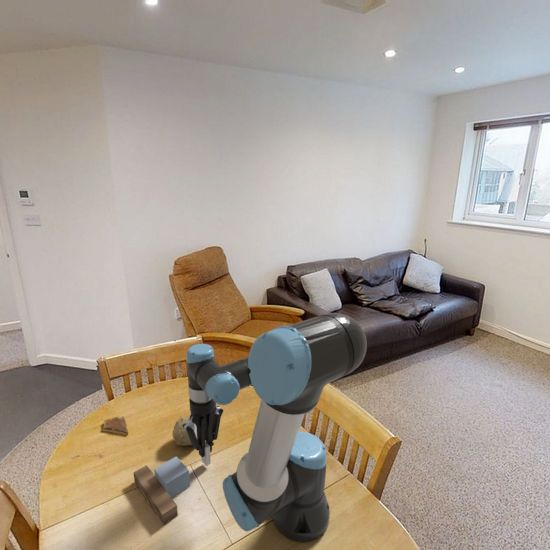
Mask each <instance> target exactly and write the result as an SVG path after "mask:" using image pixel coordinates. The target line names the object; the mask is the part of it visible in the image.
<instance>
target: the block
mask: <svg viewBox="0 0 550 550" xmlns="http://www.w3.org/2000/svg"><path fill="white" fill-rule="evenodd" d="M153 473H154V475H155V477H156V478H157V479H158V481H159V482H160V483H161V485H162V486H163V487H164V489H165V490H166V491H167V492H168V494H169V495H170V496H171V498H172V499H173V498H175V497H176V496H178V495H179V494H181V493H182V492H184V491H185V490H187V489H189V488H190V487H191V486H190V485H191V483H190V470H189V469H188V467H187V466H186V465H185V464H184V463H183V462H182V461H181V460H180V459H179V457H178V456H174V457H172V458H171V459H168V460H167V461H165V462H164V463H162V464H160V465H159V466H157V467H155V468H154V469H153Z"/></svg>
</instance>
